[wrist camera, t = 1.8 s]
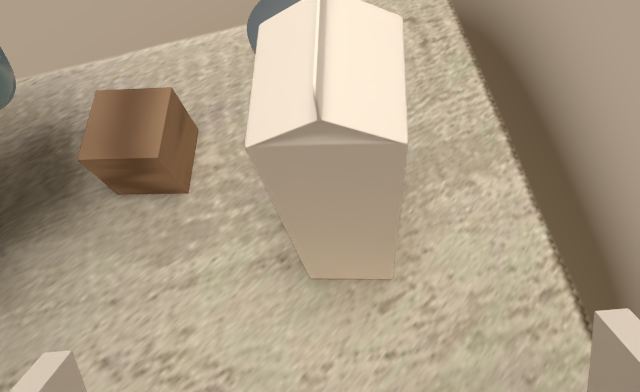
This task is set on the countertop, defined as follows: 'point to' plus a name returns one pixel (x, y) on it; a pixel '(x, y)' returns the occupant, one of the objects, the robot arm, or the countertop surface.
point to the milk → (332, 132)
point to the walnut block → (140, 141)
